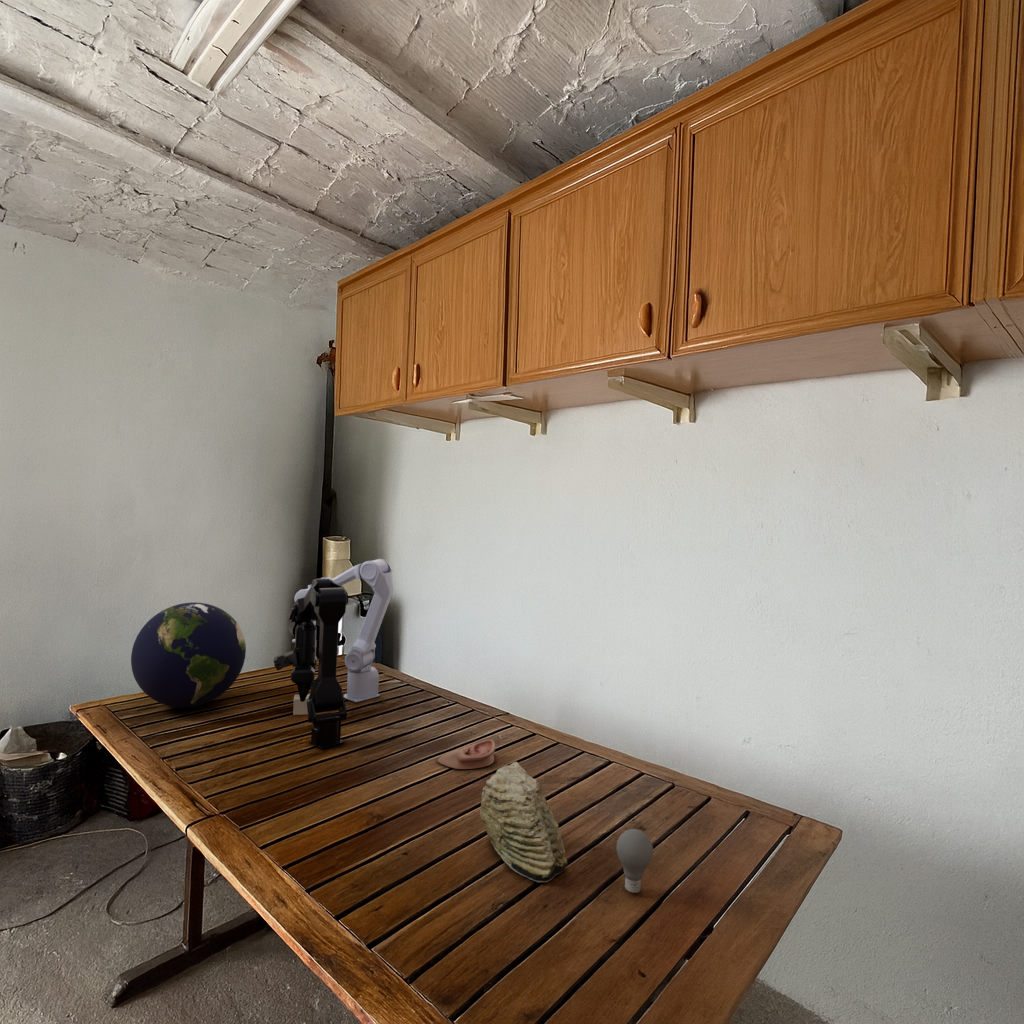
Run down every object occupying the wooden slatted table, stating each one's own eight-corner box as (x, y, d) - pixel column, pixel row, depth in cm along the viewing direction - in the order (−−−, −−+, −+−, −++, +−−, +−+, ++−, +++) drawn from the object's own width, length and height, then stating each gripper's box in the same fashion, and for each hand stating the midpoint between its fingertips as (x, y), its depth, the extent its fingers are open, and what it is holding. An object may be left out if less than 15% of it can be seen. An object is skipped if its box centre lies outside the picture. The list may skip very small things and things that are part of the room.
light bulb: (610, 879, 108) (613, 822, 108) (644, 879, 109) (647, 822, 109) (619, 902, 102) (622, 840, 102) (655, 901, 103) (658, 840, 103)
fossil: (501, 827, 124) (504, 751, 124) (575, 868, 111) (578, 784, 111) (467, 843, 118) (470, 763, 118) (541, 889, 105) (545, 799, 105)
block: (294, 710, 186) (294, 694, 186) (312, 709, 187) (312, 694, 187) (293, 715, 182) (293, 699, 182) (311, 714, 183) (312, 698, 183)
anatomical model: (434, 749, 151) (448, 732, 162) (433, 766, 151) (447, 748, 162) (488, 756, 148) (499, 738, 159) (487, 773, 148) (498, 754, 160)
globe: (211, 683, 207) (214, 592, 206) (264, 704, 189) (267, 604, 189) (110, 705, 182) (113, 601, 182) (160, 731, 165) (164, 616, 164)
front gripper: (279, 636, 191) (277, 687, 191) (272, 651, 173) (270, 708, 173) (317, 636, 194) (315, 686, 194) (315, 650, 176) (313, 706, 176)
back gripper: (294, 621, 209) (293, 662, 210) (291, 630, 195) (289, 674, 196) (317, 621, 211) (315, 662, 212) (315, 630, 197) (313, 674, 197)
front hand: (303, 696), depth 184 cm, fingers open, 9 cm apart
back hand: (304, 668), depth 204 cm, fingers open, 7 cm apart
